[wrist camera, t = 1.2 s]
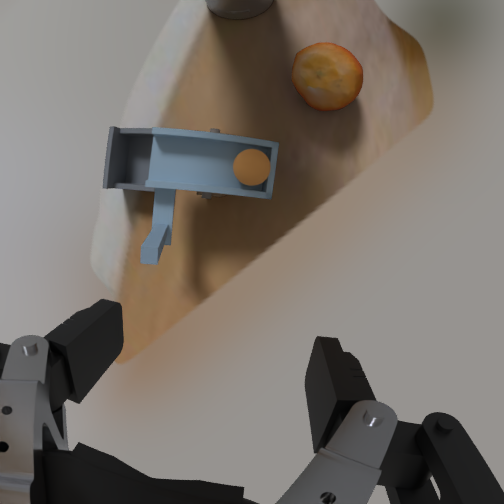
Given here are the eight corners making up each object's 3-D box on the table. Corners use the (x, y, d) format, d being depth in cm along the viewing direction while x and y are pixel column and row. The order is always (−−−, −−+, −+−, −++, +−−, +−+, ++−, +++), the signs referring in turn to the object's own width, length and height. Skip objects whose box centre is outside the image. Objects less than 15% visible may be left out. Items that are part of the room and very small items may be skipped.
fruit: (381, 94, 29) (372, 88, 23) (328, 119, 34) (307, 122, 28) (347, 41, 28) (330, 24, 22) (298, 69, 33) (270, 61, 27)
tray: (128, 132, 34) (109, 126, 29) (176, 133, 33) (162, 126, 28) (122, 186, 35) (102, 188, 30) (169, 190, 35) (154, 192, 30)
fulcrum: (211, 135, 33) (201, 127, 28) (233, 137, 33) (227, 129, 28) (204, 194, 35) (192, 197, 30) (225, 197, 35) (217, 199, 29)
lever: (155, 130, 27) (138, 109, 17) (272, 144, 29) (311, 132, 20) (144, 241, 29) (124, 274, 19) (257, 250, 32) (287, 285, 22)
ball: (234, 148, 28) (236, 144, 25) (269, 153, 29) (275, 150, 25) (230, 182, 29) (231, 183, 26) (265, 187, 29) (270, 188, 26)
